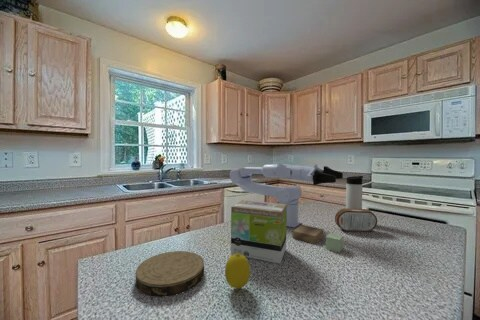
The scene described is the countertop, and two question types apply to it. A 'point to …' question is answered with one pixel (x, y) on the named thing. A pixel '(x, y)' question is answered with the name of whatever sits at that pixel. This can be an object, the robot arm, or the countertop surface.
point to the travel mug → (354, 192)
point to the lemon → (237, 271)
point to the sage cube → (334, 242)
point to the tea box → (259, 230)
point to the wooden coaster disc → (169, 273)
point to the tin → (356, 220)
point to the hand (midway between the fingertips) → (339, 177)
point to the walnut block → (308, 234)
